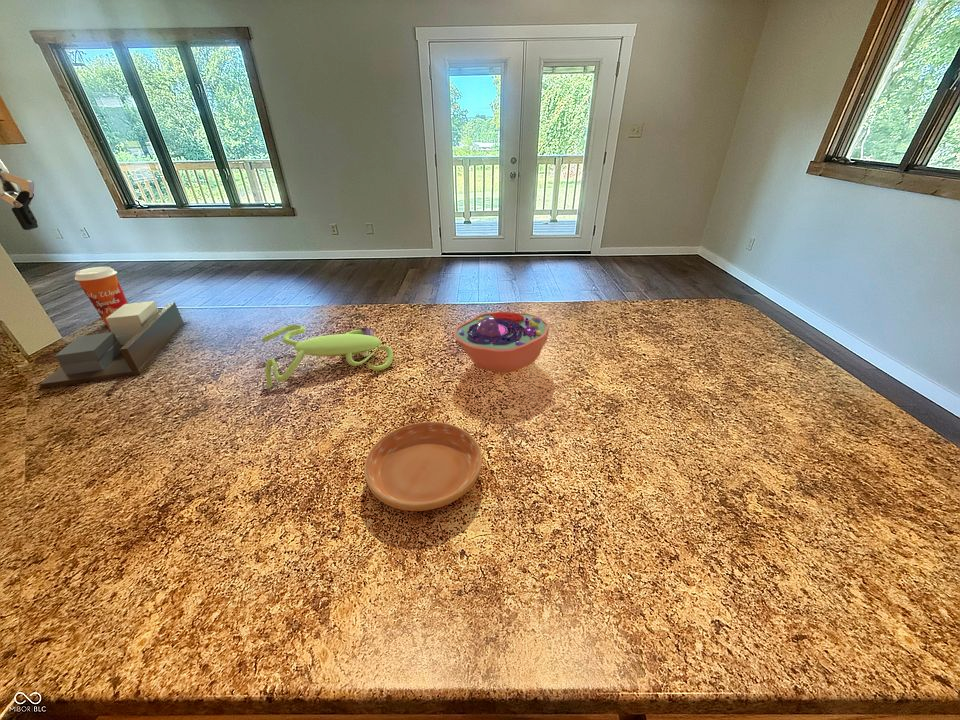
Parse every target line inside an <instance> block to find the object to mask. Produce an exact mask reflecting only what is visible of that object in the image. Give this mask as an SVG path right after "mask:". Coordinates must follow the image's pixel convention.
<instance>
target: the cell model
mask: <svg viewBox="0 0 960 720" xmlns="http://www.w3.org/2000/svg"><path fill="white" fill-rule="evenodd" d="M549 331H550V324H549V322H547V321H546V320H545V319H543V317H540V316H538V315H534V314H530V313H522V312H521V313H519V312H514V311H505V310H504V311H489V312H483V313H479V314H477V315H475V316H474V317H472V318H470V319H469V320H467V321H464V322H462V323H460V324H459V325H458V326H457V327H456V328H455V329H454V331H453V337H454V339H455V340H456V342H457V343H458V345H459V346H460V348H462V350H463V351H464V353H465V354H466V355H467V356H468V358H469V359H470V360H471V361H472V362H473V364H474V366H475V367H476V368H477V369H479V370H484V371H491V372H496V373H503V374H504V373H505V374H509V373H514V372H517V371H519V370H521V369H523V368H526V367H528V366H530V365H532V364H533V363H534V362H536V361H537V360H538V358H539V356H540V355H541V352H542V350H543V348H544V346H545V345H546V343H547V341H548V338H549Z"/></svg>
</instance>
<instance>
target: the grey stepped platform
mask: <svg viewBox="0 0 960 720" xmlns="http://www.w3.org/2000/svg"><path fill="white" fill-rule="evenodd" d="M159 311H160V312H159V313H158V314H157V315H156V316H155V317H154V318H153V319H152V320H151V321H150V322H148V323H147V324H146V325H145V326H144V327H143V328H142V329H141V330H140V331H139V332H138V333H137V334H136V335H135V336H134V337H132V338H131V339H130V340H129V341H128V342H127V343H126V344H124V345H121V346H122V348H121V349H120V351H121V353H120V354H119V355H118V356H117V357H116V358H115V359H114V360H113V361H111V362H110V363H109V364H108V365H107V366H106V367H105V368H104V369H103V370H99V371H91V372H84V373H76V374H69V375H66V374H65V372H64V371H63V369H62V368H61V366H60V367H58V368H57V369H56V370H55V371H54V372H52V373H51V374H50V375H48V376H47V377H46V378H44V380H42V381H41V382H40V383H39V384H38V385H39V387H40V388H41V389H48V388H55V387H63V386H70V385H76V384H84V383H91V382H97V381H104V380H111V379H118V378H120V379H121V378H125V377H132V376H141V375H142V374H143V373H144V372H145V370H146V369H147V368H148V366H150V364H151V363H152V362H153V361H154V360H155V358H156V357H157V356H158V355H159V354H160V353H161V352H162V351H163V349H165V347H166V346H167V345H168V343H169V342H170V341H171V340H172V339H173V338H174V337H175V336H176V334H177V333H178V332H179V331H180V330H181V328H182V327H183V326H184V325H185V322H184V321H183V318H182V315H181V313H180V311H179V309H178V306H177V304H176V302H174V301H173V302H168V304H166V305H165V306H164V307H163V308H162V309H161V310H159ZM109 332H111V330H110V328H107V329H106V330H104V331H103V333H109Z"/></svg>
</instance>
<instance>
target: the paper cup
mask: <svg viewBox="0 0 960 720" xmlns="http://www.w3.org/2000/svg"><path fill="white" fill-rule="evenodd" d="M74 273H75V274H74V280H75V281H77V282H78V284H79V285H80V287H81V289H82V291H83V292H84V294H85V295H86V296H87V298H88V300H89V301H90V303H91V304H92V306H93V307H94V309H95V310H96V312H97V313H98V315H99V316H100V318H101V320H102V321H103V322H104V324H105V325H106V327H107V328H109V327H110V326H109V324H108V322H107V320H106V318H107V317H108V316H109V315H111V314H112V313H113V312H115V311H116V310H117V309H119V308H120V307H121V306H123V305H124V304H129V302H128V301H127V298H126V295H125V293H124V291H123V289H122V286H121V283H120V281H119V279H118V276H117V274H118V271H116V270H115V269H114V268H112V267H111V266H93V267H89V268H88V267H87V268H84V269H81V270H77V271H76V272H74Z"/></svg>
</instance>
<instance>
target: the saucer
mask: <svg viewBox="0 0 960 720" xmlns="http://www.w3.org/2000/svg"><path fill="white" fill-rule="evenodd" d="M482 465H483V453H482V449H481V447H480V444H479V442H478V441H477V440H476V439H475V438H474V436H473V435H472V434H471V433H469V432H468V431H466V430H465V429H463V428H461V427H459V426H457V425H455V424H452V423H447V422H442V421H420V422H413V423H410V424H406V425H403V426H401V427H398V428H396V429H393V430H392V431H390V432H388V433H386V434H385V435H384V436H383V437H381V438H380V439H379V440H377V442H376V443H374V445H373V446H372V447H371V449H370V451H369V452H368V453H367V455H366V459H365V461H364V465H363V466H364V467H363V468H364V469H363V474H364V479H365V482H366V484H367V487H368V489H369V490H370V492H371V494H372V495H373V496H374V497H375V498H376V499H378V500H379V501H380V502H382V503H383V504H384V505H386V506H389V507H391V508H394V509H398V510H402V511H411V512H423V511H424V512H425V511H430V510H434V509H438V508H442V507H445V506H448V505H449V504H452V503H454V502H455V501H457V500H459V499H460V498H461V497H463V496H464V495H465V494H466V493H467V492H469V491H470V490H471V488H473V486H474V485H475V484H476V482H477V480H478V479H479V476H480V473H481V470H482Z"/></svg>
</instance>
